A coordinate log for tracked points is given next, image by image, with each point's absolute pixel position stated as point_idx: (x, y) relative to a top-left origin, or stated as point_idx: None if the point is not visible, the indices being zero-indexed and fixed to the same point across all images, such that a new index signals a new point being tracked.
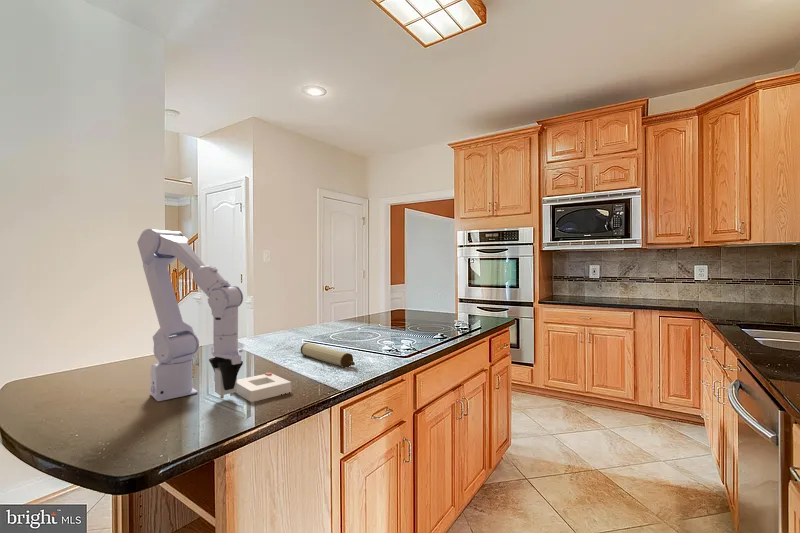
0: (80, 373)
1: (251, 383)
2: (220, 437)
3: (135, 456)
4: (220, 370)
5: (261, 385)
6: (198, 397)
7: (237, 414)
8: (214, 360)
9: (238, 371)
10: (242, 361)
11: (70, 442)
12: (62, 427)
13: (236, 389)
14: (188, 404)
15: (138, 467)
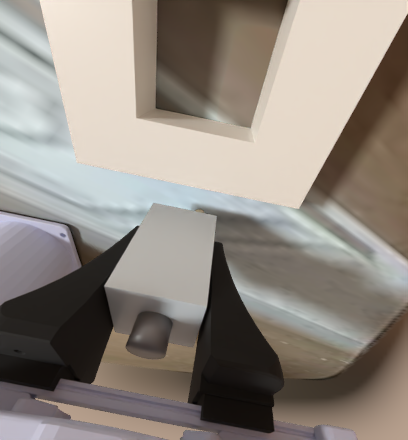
0: None
1: (193, 132)
2: (375, 323)
3: (292, 364)
4: (174, 340)
5: (279, 120)
6: (106, 237)
7: (322, 258)
8: (87, 377)
9: (245, 307)
10: (273, 378)
11: (184, 362)
12: (125, 351)
13: (215, 222)
14: None
15: (322, 371)
